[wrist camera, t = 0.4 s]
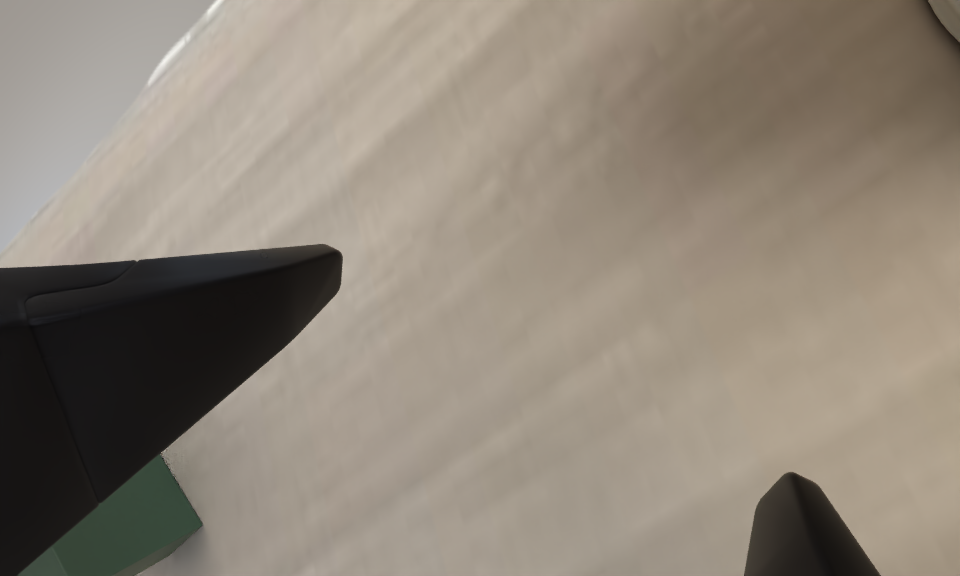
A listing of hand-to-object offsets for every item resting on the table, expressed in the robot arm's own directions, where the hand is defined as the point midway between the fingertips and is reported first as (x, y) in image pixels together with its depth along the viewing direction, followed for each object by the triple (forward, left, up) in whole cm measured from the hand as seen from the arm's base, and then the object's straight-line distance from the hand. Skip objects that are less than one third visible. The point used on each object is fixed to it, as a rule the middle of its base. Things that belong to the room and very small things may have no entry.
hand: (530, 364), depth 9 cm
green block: (-13, +25, -14) cm, 31 cm away
